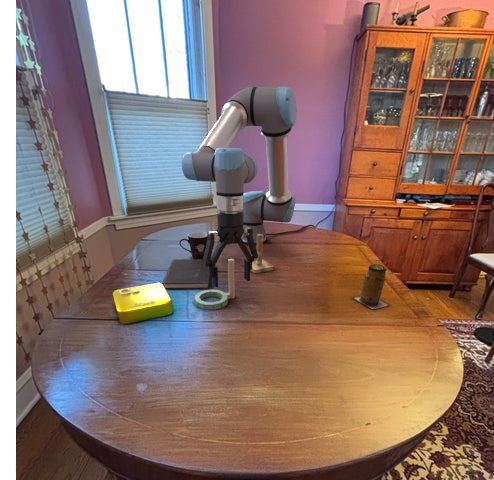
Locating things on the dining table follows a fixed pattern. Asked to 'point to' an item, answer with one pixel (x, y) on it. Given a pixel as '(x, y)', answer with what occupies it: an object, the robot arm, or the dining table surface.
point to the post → (260, 258)
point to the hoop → (218, 292)
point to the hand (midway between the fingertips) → (231, 282)
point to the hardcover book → (187, 275)
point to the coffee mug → (196, 244)
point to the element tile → (142, 303)
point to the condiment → (373, 287)
